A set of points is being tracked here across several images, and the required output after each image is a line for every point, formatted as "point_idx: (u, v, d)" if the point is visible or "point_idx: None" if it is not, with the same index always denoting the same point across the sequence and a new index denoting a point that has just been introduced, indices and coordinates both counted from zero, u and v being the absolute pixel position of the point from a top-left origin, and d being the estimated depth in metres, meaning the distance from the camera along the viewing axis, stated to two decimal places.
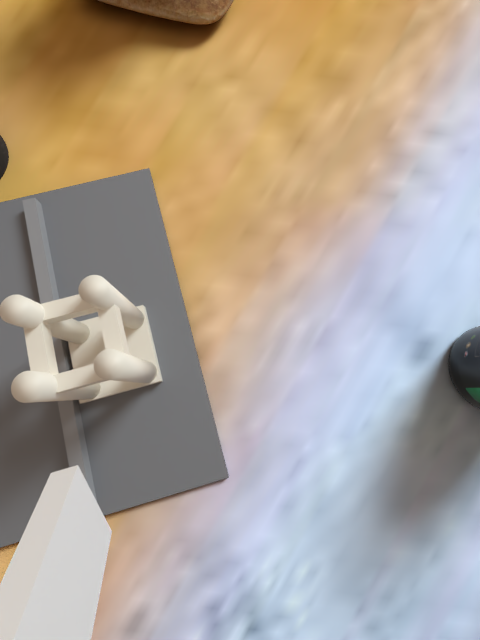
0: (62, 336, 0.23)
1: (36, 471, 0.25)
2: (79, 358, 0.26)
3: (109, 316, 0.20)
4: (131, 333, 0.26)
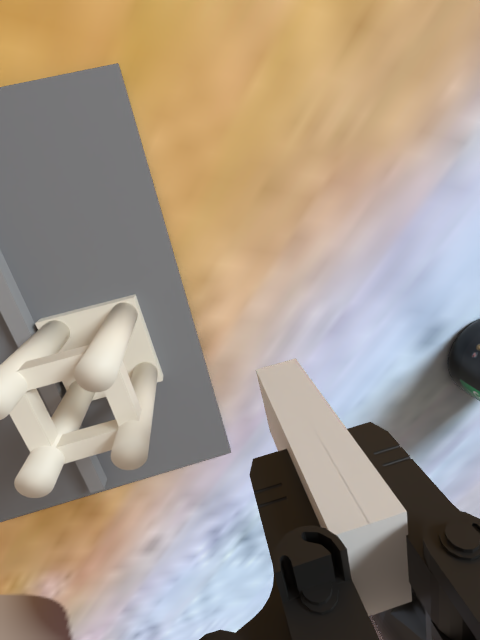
0: None
1: None
2: None
3: (114, 383, 0.16)
4: None
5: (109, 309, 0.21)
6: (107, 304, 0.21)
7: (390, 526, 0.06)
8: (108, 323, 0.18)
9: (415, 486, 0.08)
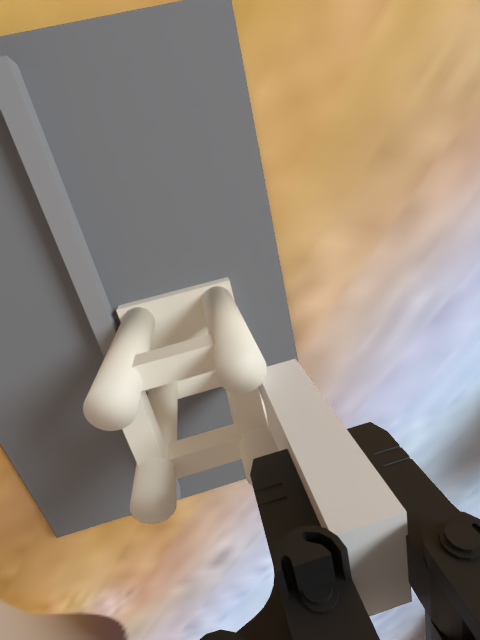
0: None
1: (107, 467, 0.22)
2: None
3: None
4: None
5: (200, 294, 0.18)
6: (198, 288, 0.18)
7: (390, 526, 0.06)
8: (222, 308, 0.15)
9: (415, 486, 0.08)
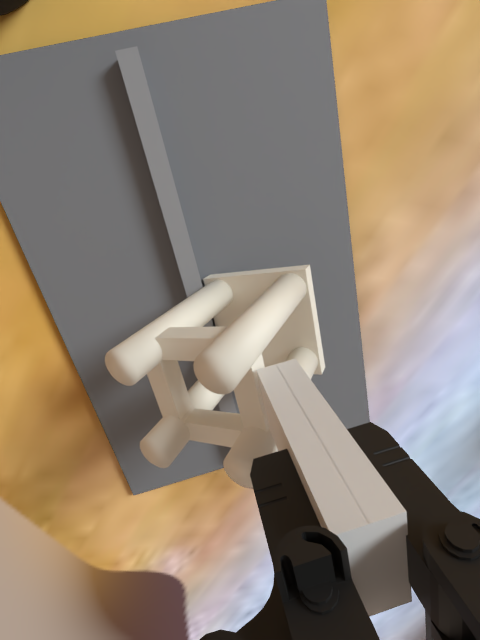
0: None
1: None
2: (223, 323, 0.20)
3: (244, 381, 0.13)
4: None
5: (275, 278, 0.18)
6: (274, 272, 0.18)
7: (390, 526, 0.06)
8: (259, 302, 0.14)
9: (415, 486, 0.08)
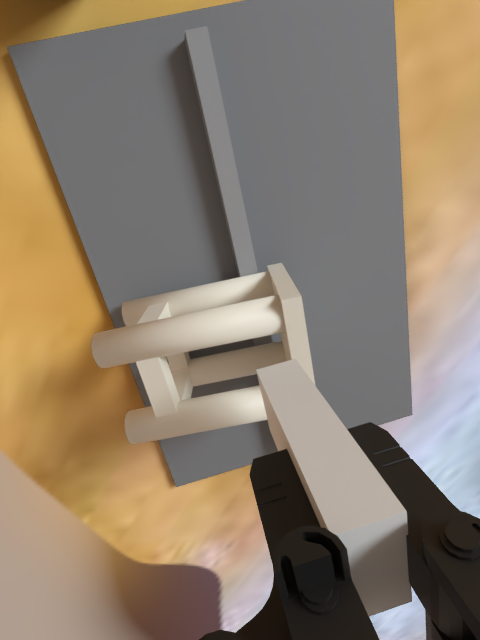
0: None
1: None
2: None
3: None
4: (284, 331, 0.15)
5: None
6: (276, 288, 0.15)
7: (390, 526, 0.06)
8: (187, 314, 0.15)
9: (415, 486, 0.08)
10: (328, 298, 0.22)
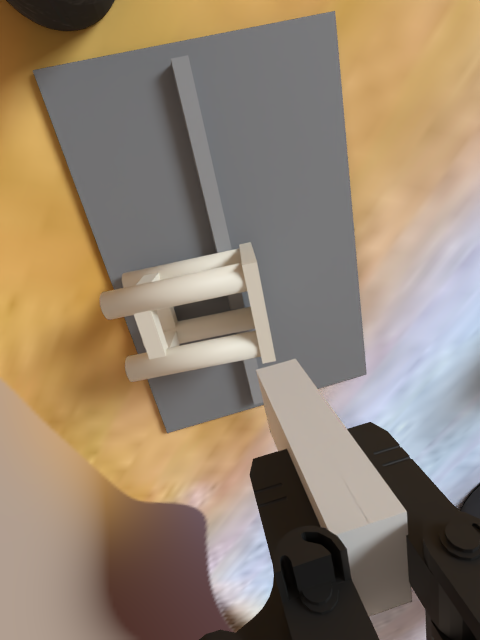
0: None
1: (211, 375, 0.28)
2: None
3: None
4: None
5: None
6: (241, 258, 0.20)
7: (390, 526, 0.06)
8: (173, 277, 0.19)
9: (415, 486, 0.08)
10: (291, 273, 0.26)
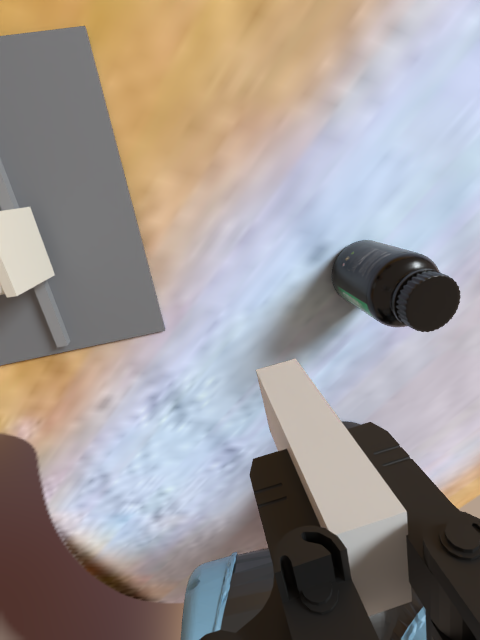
0: None
1: (19, 320, 0.34)
2: None
3: None
4: None
5: None
6: None
7: (390, 526, 0.06)
8: None
9: (415, 486, 0.08)
10: (80, 237, 0.32)
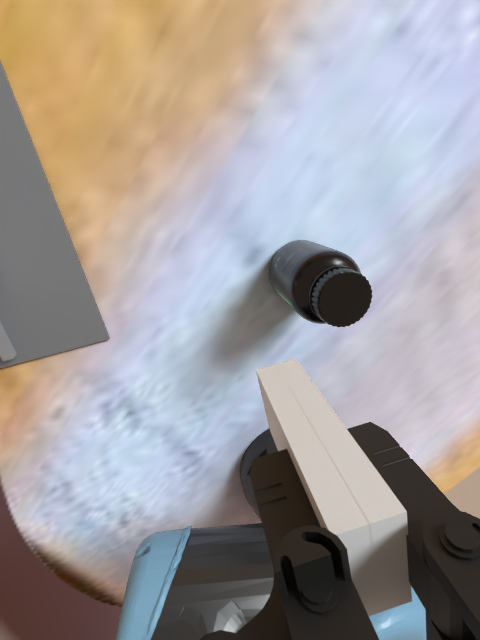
0: None
1: None
2: None
3: None
4: None
5: None
6: None
7: (390, 526, 0.06)
8: None
9: (415, 486, 0.08)
10: (15, 254, 0.33)
